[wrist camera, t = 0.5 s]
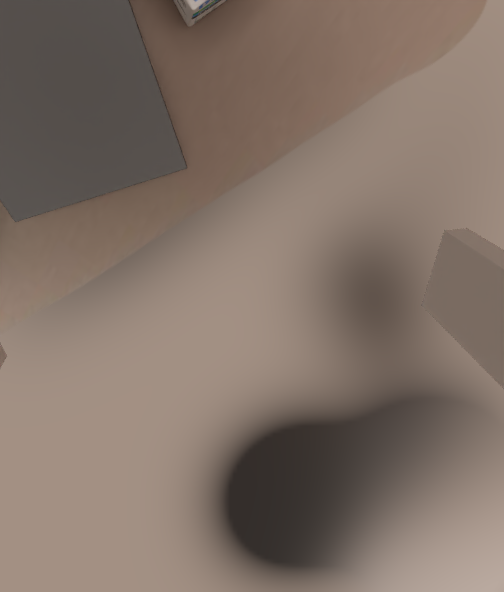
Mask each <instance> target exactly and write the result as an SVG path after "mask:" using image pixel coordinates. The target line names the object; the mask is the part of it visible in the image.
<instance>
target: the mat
mask: <svg viewBox="0 0 504 592" xmlns="http://www.w3.org/2000/svg"><path fill="white" fill-rule="evenodd" d="M186 168H187V166H186V163H185V160H184V157H183V154H182V151H181V149H180V146H179V143H178V140H177V137H176V134H175V131H174V129H173V126H172V123H171V120H170V117H169V114H168V111H167V109H166V106H165V103H164V100H163V97H162V94H161V91H160V89H159V86H158V83H157V80H156V77H155V74H154V71H153V68H152V66H151V63H150V60H149V57H148V54H147V51H146V48H145V46H144V43H143V40H142V37H141V34H140V31H139V28H138V26H137V23H136V20H135V17H134V14H133V11H132V8H131V6H130V3H129V0H0V200H1V202H2V203H3V205H4V206H5V208H6V209H7V211H8V212H9V214H10V215H11V217H12V218H13V220H14V221H15V222H17V221H20V220H23V219H27V218H30V217H33V216H36V215H39V214H42V213H46V212H49V211H52V210H55V209H58V208H62V207H65V206H68V205H71V204H74V203H78V202H81V201H84V200H87V199H90V198H94V197H97V196H100V195H103V194H106V193H110V192H113V191H116V190H119V189H122V188H126V187H129V186H132V185H135V184H138V183H142V182H145V181H148V180H151V179H154V178H157V177H161V176H164V175H167V174H170V173H173V172H177V171H180V170H183V169H186Z"/></svg>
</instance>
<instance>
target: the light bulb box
mask: <svg viewBox="0 0 504 592" xmlns="http://www.w3.org/2000/svg"><path fill="white" fill-rule="evenodd" d="M173 1H174V3H175V5H176V6H177V8H178V10H179V12H180V14H181V16H182V17H183V19H184V21H185V23H186V24H187V26H188V27H190V26H192V25H194V24H195V23H196V22H198V21H199V20H200V19H202V18H203V17H205V16H206V15H207V14H209V13H210V12H211V11H213V10H214V9H216V8H217V7H218V6H220V5H221V4H223V3H224V2H225V1H227V0H173Z"/></svg>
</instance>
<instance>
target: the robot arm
mask: <svg viewBox="0 0 504 592" xmlns="http://www.w3.org/2000/svg"><path fill="white" fill-rule="evenodd" d="M422 307H424V308H425V309H426V311H427V312H428V313H429V314H430V315H432V317H433V318H434V319H435V320H436V321H437V322H438V323H439V324H440V325H441V326H442V327H443V328H444V329H445V330H446V331H447V332H448V333H449V334H450V335H451V336H452V337H453V338H454V339H455V340H456V341H457V342H458V343H459V344H460V345H461V346H462V347H463V348H464V349H465V350H466V351H467V352H468V353H469V354H470V355H471V356H472V357H473V358H474V359H475V360H476V361H477V362H478V363H479V364H480V365H481V366H482V367H483V368H484V369H485V370H486V371H487V372H488V373H489V374H490V375H491V376H492V377H493V378H494V379H495V381H497V382H498V384H499V385H500V386H502V388H503V389H504V250H503V249H501V248H500V247H498V246H496V245H495V244H493V243H491V242H489V241H488V240H486V239H484V238H482V237H481V236H479V235H478V234H476V233H474V232H473V231H471V230H469V229H467V228H466V229H455V230H444V233H443V236H442V240H441V243H440V246H439V249H438V253H437V256H436V260H435V262H434V266H433V269H432V273H431V276H430V279H429V282H428V285H427V289H426V292H425V295H424V298H423V301H422ZM6 357H7V355H6V353H5V351H4V349H3V347H2V345H1V344H0V367H1V366H2V364H3V362H4V360H5V359H6Z"/></svg>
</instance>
